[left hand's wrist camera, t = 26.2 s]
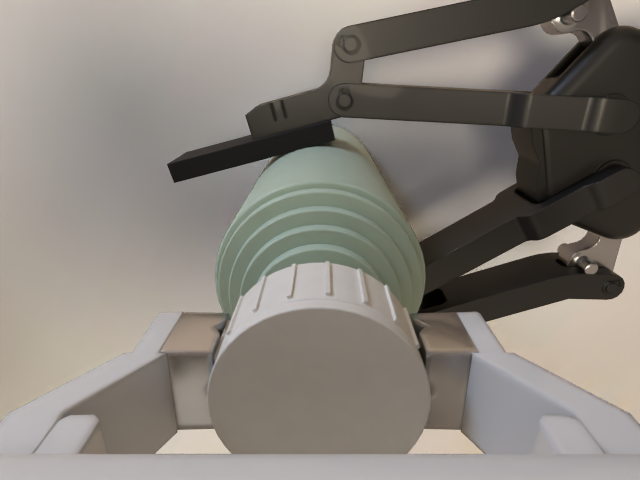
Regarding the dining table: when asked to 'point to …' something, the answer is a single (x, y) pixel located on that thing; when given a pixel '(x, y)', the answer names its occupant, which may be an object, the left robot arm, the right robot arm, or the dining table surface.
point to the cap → (319, 367)
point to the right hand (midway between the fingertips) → (209, 239)
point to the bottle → (321, 223)
